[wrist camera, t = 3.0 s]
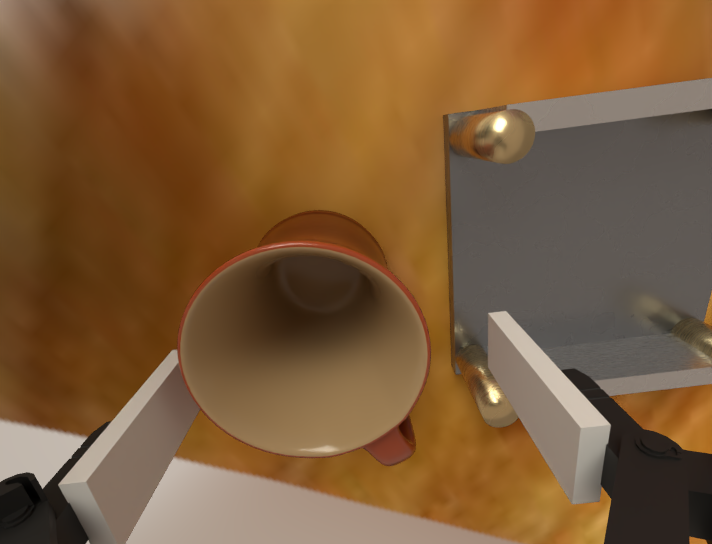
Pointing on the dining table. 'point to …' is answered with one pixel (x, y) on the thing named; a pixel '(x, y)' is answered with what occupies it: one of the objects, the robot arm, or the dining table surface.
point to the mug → (308, 344)
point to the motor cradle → (584, 236)
